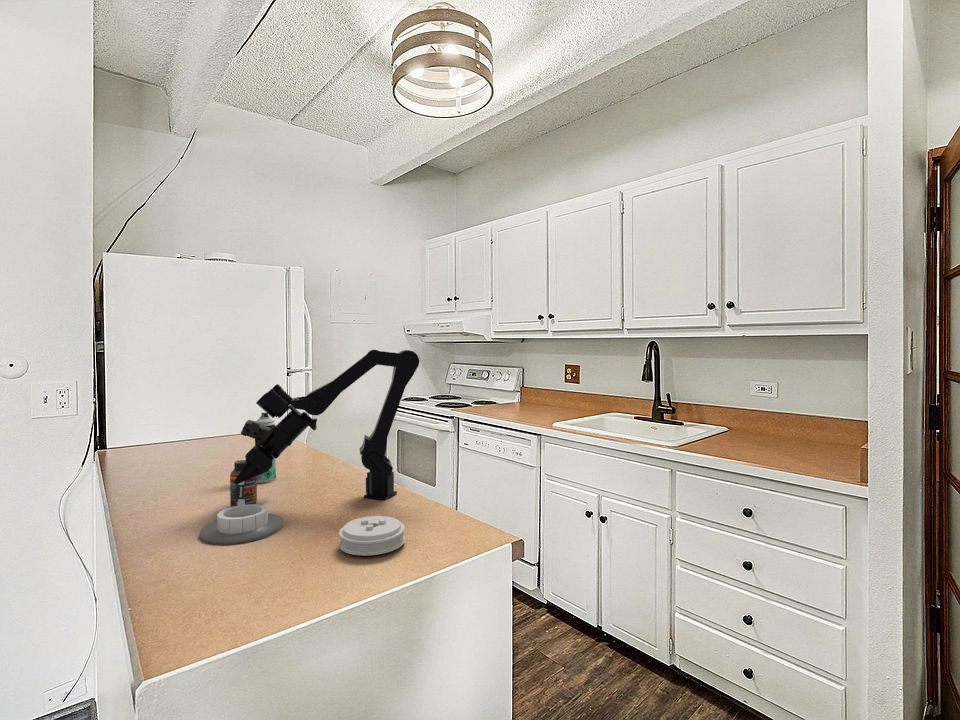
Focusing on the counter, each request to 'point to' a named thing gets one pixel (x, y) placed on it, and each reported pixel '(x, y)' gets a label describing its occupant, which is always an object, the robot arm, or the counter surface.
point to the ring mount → (241, 525)
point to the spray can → (271, 473)
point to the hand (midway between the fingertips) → (239, 477)
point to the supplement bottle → (242, 487)
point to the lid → (371, 535)
